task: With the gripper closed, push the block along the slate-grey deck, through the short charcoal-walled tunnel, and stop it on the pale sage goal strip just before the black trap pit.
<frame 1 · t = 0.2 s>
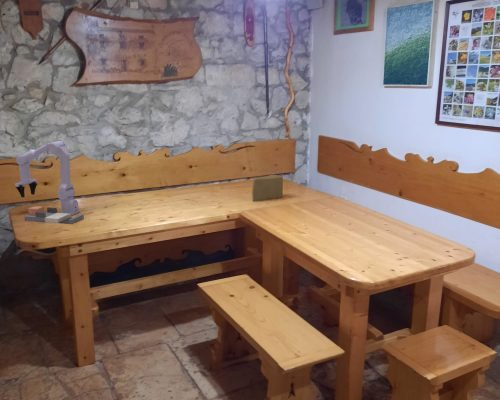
hand: (28, 195, 311), 10 cm above the table, tool pointing down, fingers open, 7 cm apart
olive upright slab: (266, 199, 335), on the table
tunnel deck: (53, 219, 295), on the table
block: (36, 214, 298), point 2 cm above the table, touching tunnel deck
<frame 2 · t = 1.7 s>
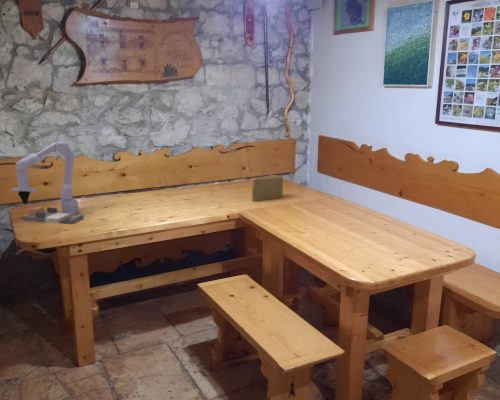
hand: (25, 203, 298), 9 cm above the table, tool pointing down, fingers closed
nothing on the table moved.
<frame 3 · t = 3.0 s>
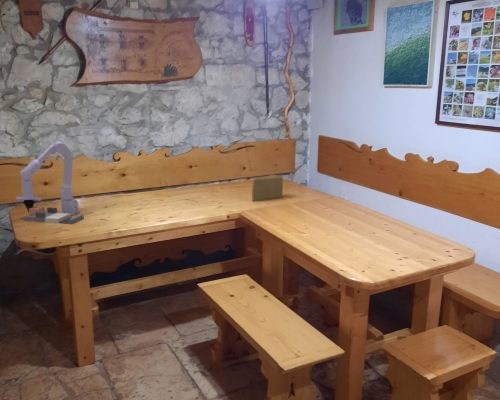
hand: (30, 212, 299), 3 cm above the table, tool pointing down, fingers closed
block: (37, 214, 297), point 3 cm above the table, touching gripper
everything else where it was.
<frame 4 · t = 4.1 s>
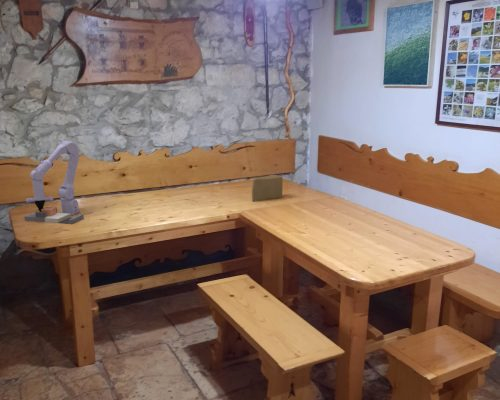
hand: (41, 213, 296), 3 cm above the table, tool pointing down, fingers closed
block: (49, 214, 296), point 3 cm above the table, touching gripper, tunnel deck
everything else where it was.
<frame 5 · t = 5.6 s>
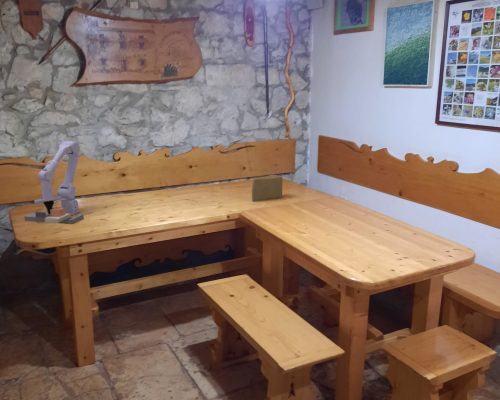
hand: (49, 213, 295), 3 cm above the table, tool pointing down, fingers closed
block: (58, 215, 294), point 2 cm above the table, touching gripper, tunnel deck
everything else where it was.
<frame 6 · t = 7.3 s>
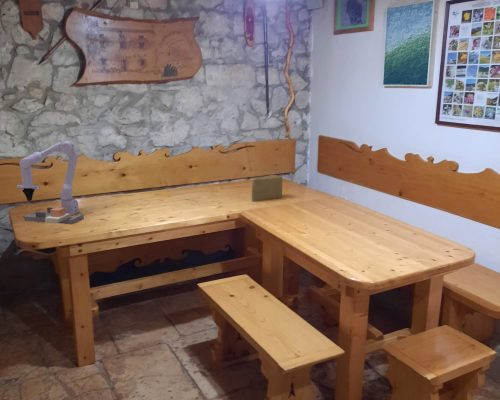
hand: (29, 200, 301), 10 cm above the table, tool pointing down, fingers closed
block: (58, 215, 294), point 2 cm above the table, touching tunnel deck
everything else where it was.
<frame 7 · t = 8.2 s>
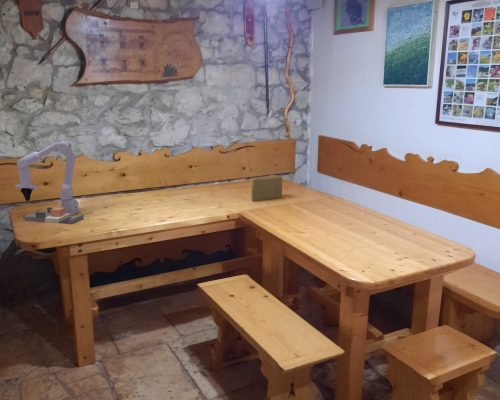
hand: (27, 200, 302), 9 cm above the table, tool pointing down, fingers closed
nothing on the table moved.
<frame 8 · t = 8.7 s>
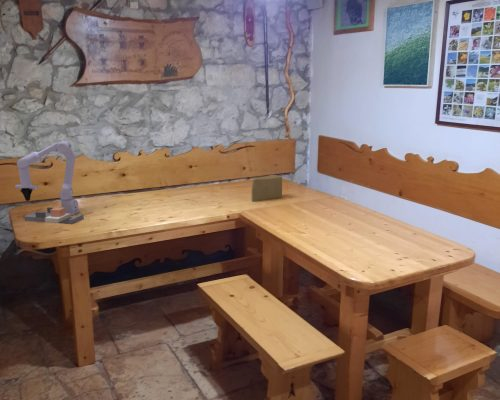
hand: (27, 200, 302), 9 cm above the table, tool pointing down, fingers closed
nothing on the table moved.
at the end: block 1.1 cm from the target spot, point 2.5 cm above the table; block tilted 0°; block moved 14.4 cm from its start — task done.
